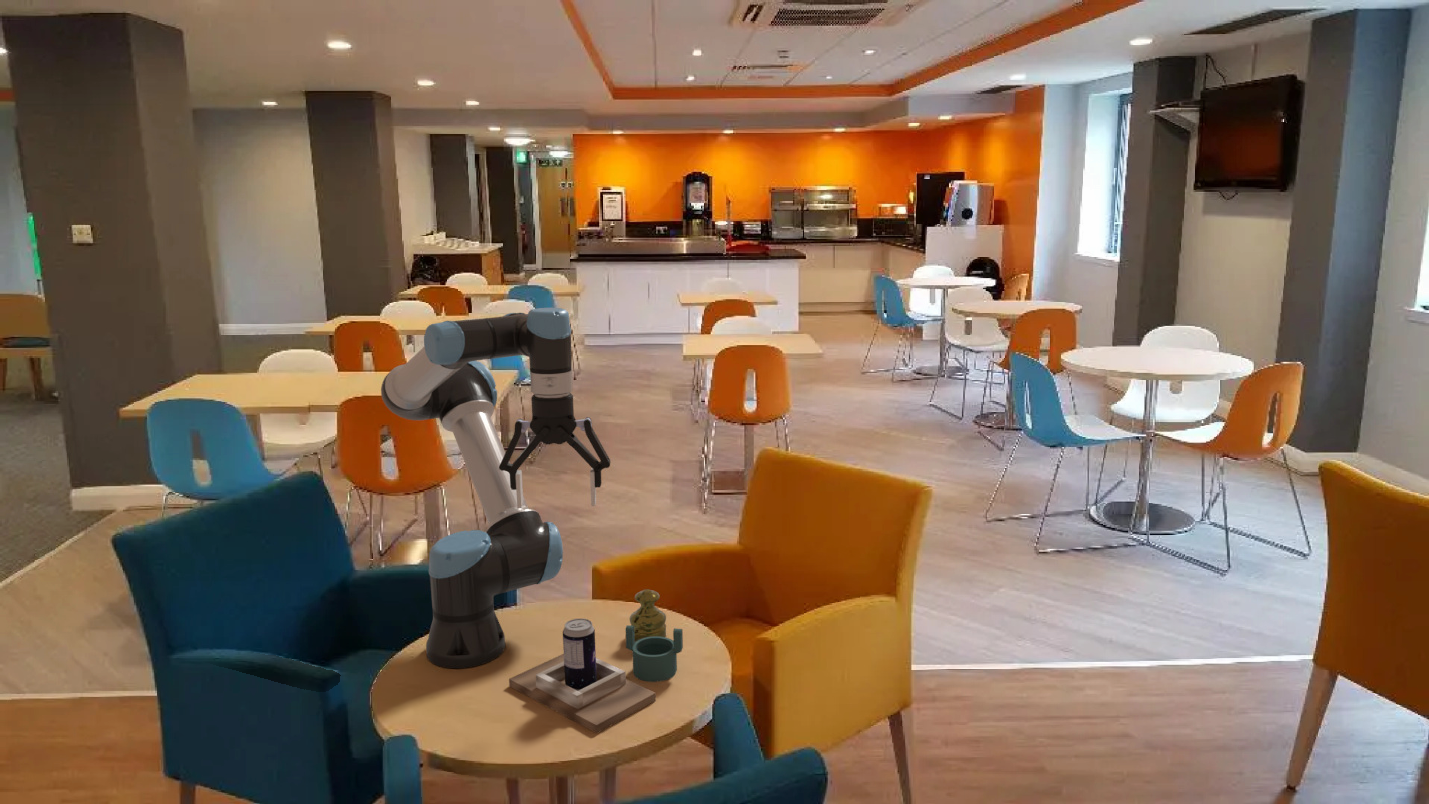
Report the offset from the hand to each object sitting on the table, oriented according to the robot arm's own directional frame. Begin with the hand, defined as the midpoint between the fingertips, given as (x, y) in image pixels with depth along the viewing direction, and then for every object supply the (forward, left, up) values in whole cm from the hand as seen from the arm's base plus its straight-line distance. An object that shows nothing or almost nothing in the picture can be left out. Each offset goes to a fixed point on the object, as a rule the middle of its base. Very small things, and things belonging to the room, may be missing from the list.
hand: (557, 504), depth 181 cm
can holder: (+12, -6, -32) cm, 34 cm away
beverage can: (+12, -6, -30) cm, 33 cm away
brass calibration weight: (+5, +18, -32) cm, 37 cm away
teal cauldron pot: (+16, +9, -32) cm, 37 cm away
